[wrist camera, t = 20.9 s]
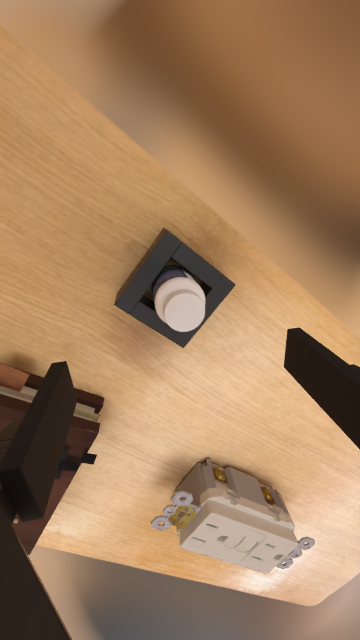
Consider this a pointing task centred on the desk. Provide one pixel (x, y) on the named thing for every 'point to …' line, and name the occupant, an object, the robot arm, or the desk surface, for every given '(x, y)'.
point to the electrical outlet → (232, 519)
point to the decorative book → (12, 404)
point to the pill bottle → (178, 299)
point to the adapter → (149, 269)
